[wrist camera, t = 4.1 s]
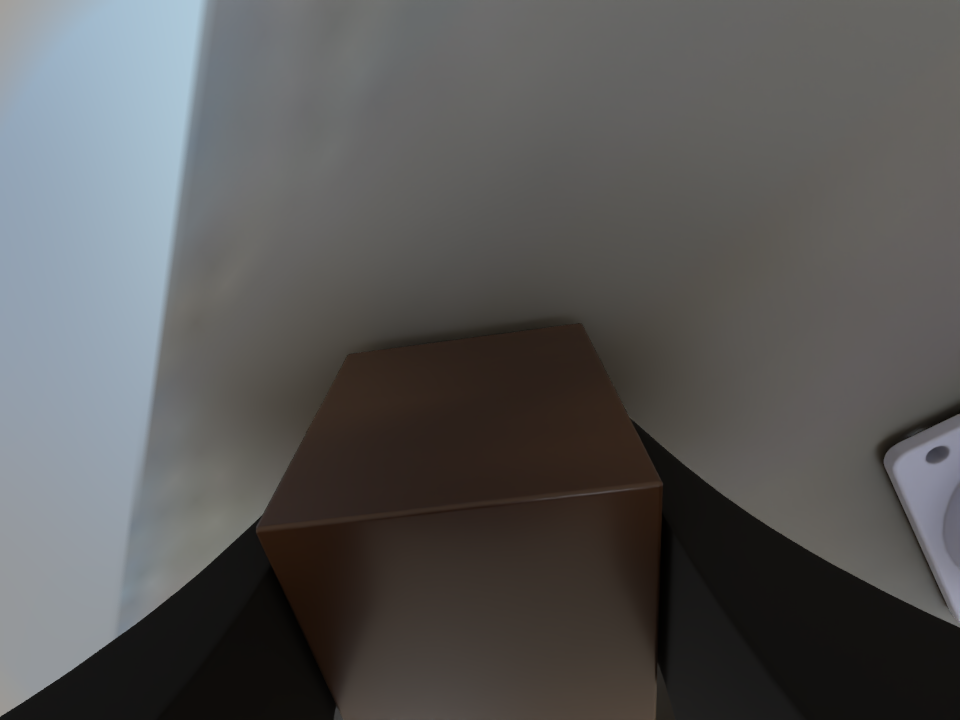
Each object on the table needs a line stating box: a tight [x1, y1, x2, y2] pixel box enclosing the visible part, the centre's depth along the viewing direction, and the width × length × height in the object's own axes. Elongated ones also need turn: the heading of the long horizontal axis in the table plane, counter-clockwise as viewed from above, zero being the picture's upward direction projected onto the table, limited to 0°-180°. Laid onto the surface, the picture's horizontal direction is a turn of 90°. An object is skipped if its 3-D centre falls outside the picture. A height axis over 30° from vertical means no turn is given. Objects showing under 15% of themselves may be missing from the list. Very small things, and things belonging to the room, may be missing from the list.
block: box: [256, 323, 663, 720], centre depth 9 cm, size 5×5×5 cm
